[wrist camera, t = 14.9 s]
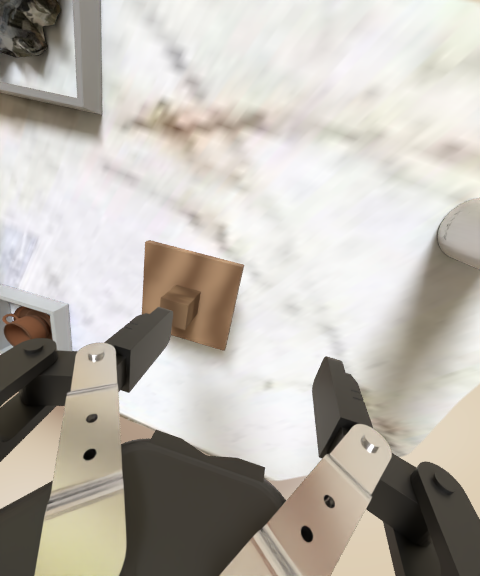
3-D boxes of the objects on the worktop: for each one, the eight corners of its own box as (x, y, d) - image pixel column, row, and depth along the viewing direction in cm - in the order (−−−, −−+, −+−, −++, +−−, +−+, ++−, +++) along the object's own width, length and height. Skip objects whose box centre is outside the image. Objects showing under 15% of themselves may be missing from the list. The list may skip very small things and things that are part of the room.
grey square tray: (68, 304, 58) (53, 311, 54) (73, 363, 65) (60, 373, 61) (2, 284, 59) (-17, 290, 56) (13, 343, 67) (-3, 352, 63)
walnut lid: (244, 264, 36) (235, 278, 30) (225, 346, 42) (215, 371, 36) (149, 240, 37) (124, 249, 32) (145, 322, 43) (123, 342, 38)
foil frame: (99, -49, 34) (76, -78, 30) (102, 114, 41) (83, 107, 37) (-32, -68, 36) (-69, -98, 32) (-7, 91, 43) (-34, 82, 39)
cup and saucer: (21, 332, 65) (-5, 345, 59) (21, 294, 60) (-7, 305, 54) (61, 351, 64) (39, 366, 59) (65, 315, 59) (41, 328, 54)
